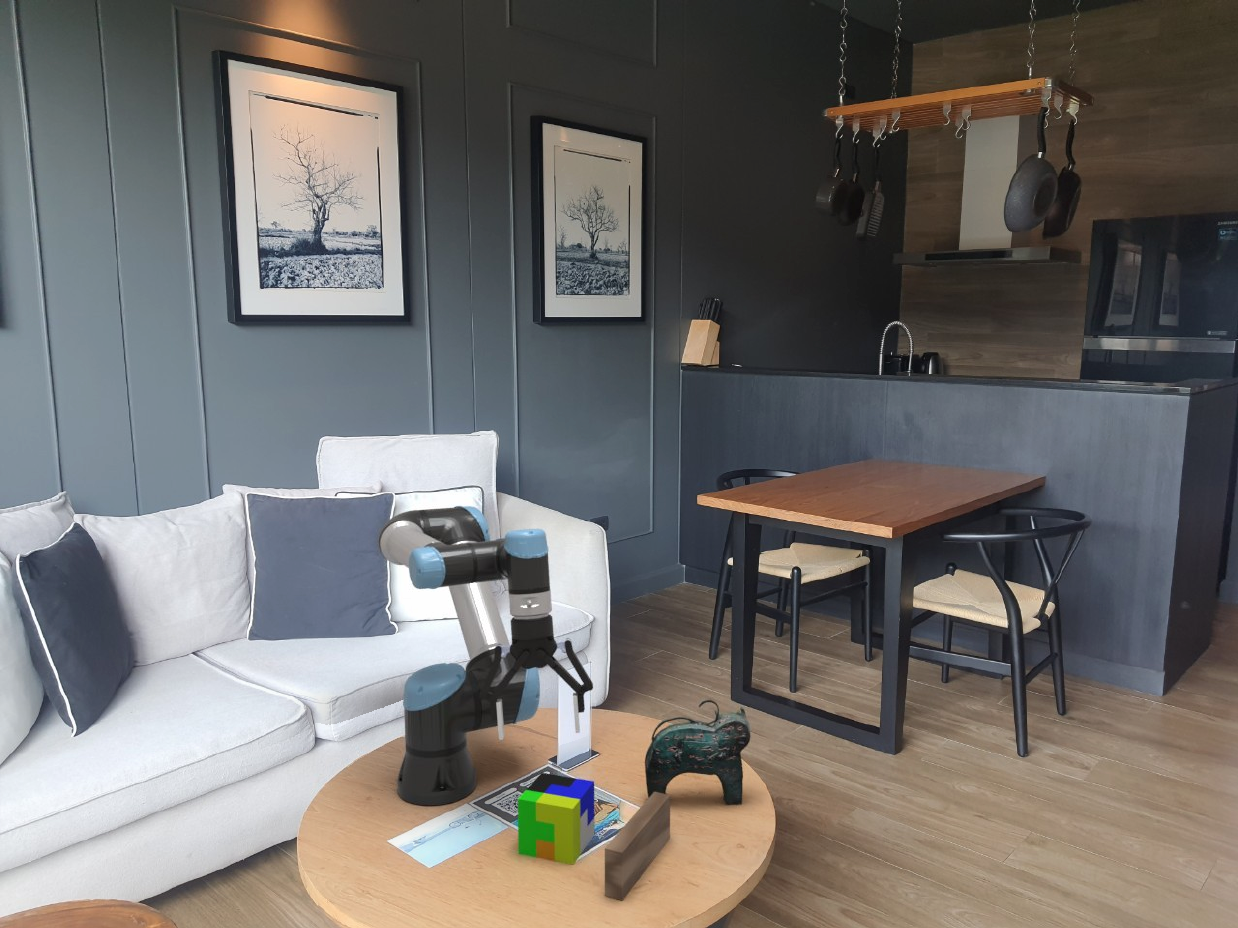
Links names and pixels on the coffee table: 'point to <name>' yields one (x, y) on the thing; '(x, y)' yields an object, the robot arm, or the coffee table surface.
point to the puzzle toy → (556, 818)
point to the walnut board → (636, 845)
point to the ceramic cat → (700, 752)
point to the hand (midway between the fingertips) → (539, 734)
